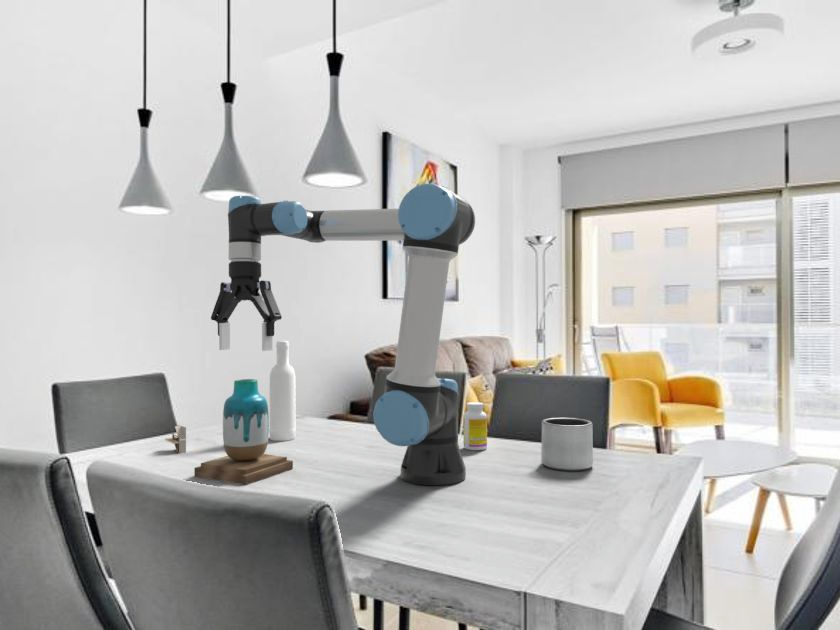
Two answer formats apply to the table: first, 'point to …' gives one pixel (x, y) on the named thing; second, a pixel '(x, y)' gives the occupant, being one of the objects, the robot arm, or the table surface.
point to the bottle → (282, 396)
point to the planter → (567, 444)
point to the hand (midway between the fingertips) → (245, 350)
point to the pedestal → (243, 469)
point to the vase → (245, 422)
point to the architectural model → (179, 439)
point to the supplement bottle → (475, 427)
